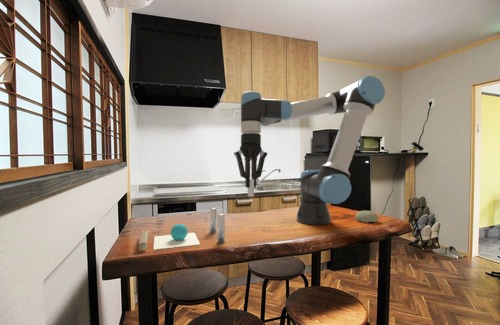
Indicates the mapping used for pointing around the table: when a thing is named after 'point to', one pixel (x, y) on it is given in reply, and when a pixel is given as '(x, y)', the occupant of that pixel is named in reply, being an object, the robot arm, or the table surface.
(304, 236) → the table surface
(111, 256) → the table surface
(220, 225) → the post
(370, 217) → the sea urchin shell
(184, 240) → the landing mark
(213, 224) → the post
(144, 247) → the wall
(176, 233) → the ball
